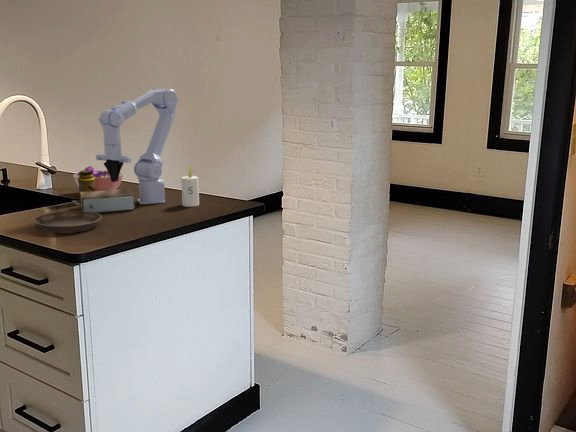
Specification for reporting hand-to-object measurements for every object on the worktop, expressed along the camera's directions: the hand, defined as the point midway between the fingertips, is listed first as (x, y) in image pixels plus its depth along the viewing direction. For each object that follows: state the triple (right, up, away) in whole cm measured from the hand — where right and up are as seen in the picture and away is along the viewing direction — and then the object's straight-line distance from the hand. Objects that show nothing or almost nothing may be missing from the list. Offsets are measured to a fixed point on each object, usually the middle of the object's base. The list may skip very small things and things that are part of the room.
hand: (114, 181), depth 220 cm
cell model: (-14, -4, +29) cm, 32 cm away
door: (-1, -11, -2) cm, 11 cm away
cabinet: (-4, -10, +4) cm, 11 cm away
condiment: (-15, -7, +14) cm, 22 cm away
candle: (+26, -9, +10) cm, 29 cm away
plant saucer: (-9, -17, -21) cm, 28 cm away
